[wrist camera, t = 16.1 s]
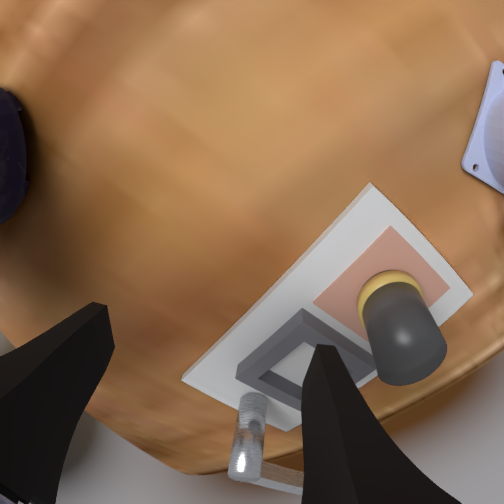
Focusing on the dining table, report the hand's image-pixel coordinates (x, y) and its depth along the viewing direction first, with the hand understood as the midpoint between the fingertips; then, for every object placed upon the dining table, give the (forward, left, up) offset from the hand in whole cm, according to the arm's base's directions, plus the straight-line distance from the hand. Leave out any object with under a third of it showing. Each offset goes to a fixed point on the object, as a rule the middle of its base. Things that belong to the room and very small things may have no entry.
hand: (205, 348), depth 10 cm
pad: (-10, +1, -10) cm, 14 cm away
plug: (-10, +1, -9) cm, 14 cm away
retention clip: (-10, +16, -9) cm, 21 cm away
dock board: (-8, +7, -10) cm, 15 cm away
